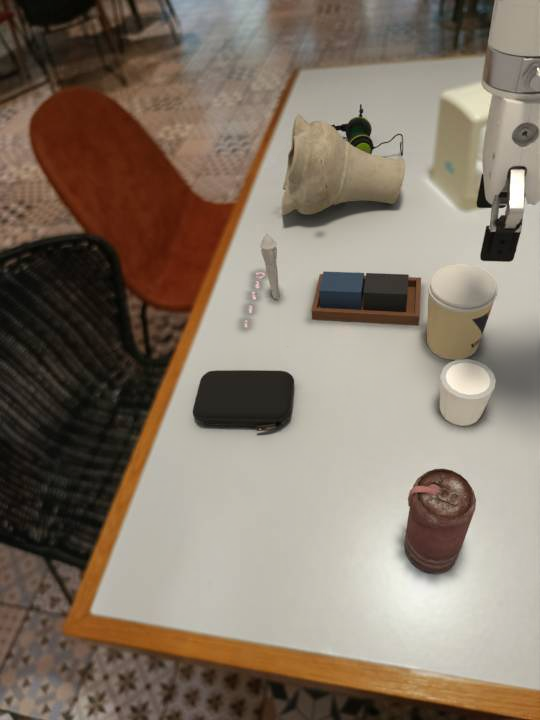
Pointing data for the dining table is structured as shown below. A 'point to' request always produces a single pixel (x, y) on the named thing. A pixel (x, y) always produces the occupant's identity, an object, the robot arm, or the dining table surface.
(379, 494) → the dining table surface
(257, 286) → the flower petals
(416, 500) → the can
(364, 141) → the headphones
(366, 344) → the dining table surface
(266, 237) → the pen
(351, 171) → the vase
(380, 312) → the tray
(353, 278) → the blue block
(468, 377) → the white short cylinder
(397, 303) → the pad
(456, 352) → the coffee cup
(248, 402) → the carrying case
